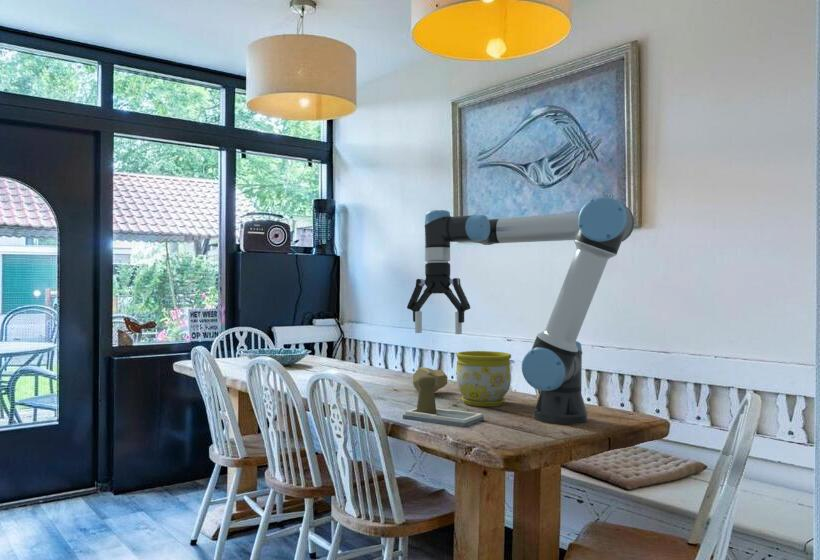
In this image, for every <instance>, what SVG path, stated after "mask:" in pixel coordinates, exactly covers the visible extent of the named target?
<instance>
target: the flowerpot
mask: <svg viewBox="0 0 820 560" xmlns="http://www.w3.org/2000/svg"><path fill="white" fill-rule="evenodd" d="M456 357H457V358H458V359H457V368H456V385H457V387H458V390H459V392H460V394H461V395H462V397H461V400H462V401H463V402H464V404H466V405H468V406H474V407H483V408H485V407H486V408H487V407H498V406H501V405H503V403H504V402H505V401H506V399H505V398H504V397H505V396H506V395H507V393H508V391H510V390H509V389H510V386H511V380H512V379H511V378H512V376H511V368H510V364H511V362H510V359H511V358H512V354H511V353H509V352H502V351H493V350H492V351H489V350H487V351H486V350H471V351H470V350H469V351H468V350H467V351H458V352H457V353H456Z"/></svg>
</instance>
